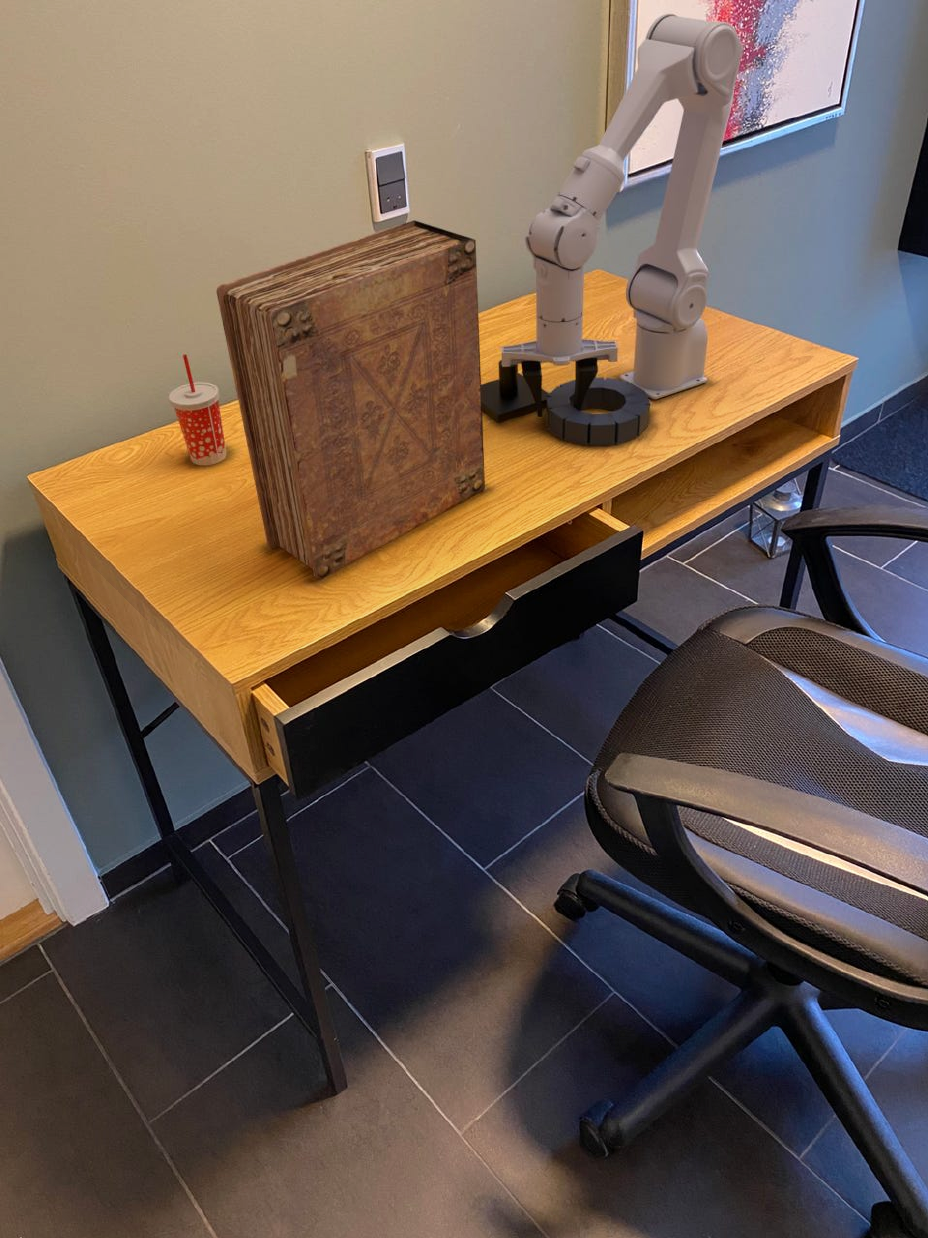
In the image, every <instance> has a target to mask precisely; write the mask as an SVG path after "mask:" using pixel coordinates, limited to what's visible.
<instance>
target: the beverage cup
mask: <svg viewBox="0 0 928 1238" xmlns="http://www.w3.org/2000/svg"><path fill="white" fill-rule="evenodd" d="M182 359H183V363H184V366H185V367H184V368H185V371H186V375H187V379H188V383H186V384H183V385H180V386H178V387H176V388H174V389H173V390H172V391H171V392H170V393H169V395H168V396H169V397H168V400H169V402H170V406H171V407H173V408H174V412H175V415H176V418H177V421H178V424H179V428H180V431H181V434H182V436H183V439H184V442H185V445H186V449H187V451H188V455H189V457H190V461H191V462H192V463H193V464H195V465H197V466H213V465H216V464H218V463H220V462H223V461H224V460H225V459H226V457H227V455H228V453H227V446H226V441H225V440H226V439H225V434H224V428H223V422H222V414H221V407H220V402H219V400H220V390H219V389H220V388H219V387H218V386H217V385H216V384H213V383H212V382H211V383H210V382H206V381H205V382H202V381H198V382H194V380H193V375H192V371H191V366H190V364H189V359H188V355H187V354H182Z"/></svg>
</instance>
